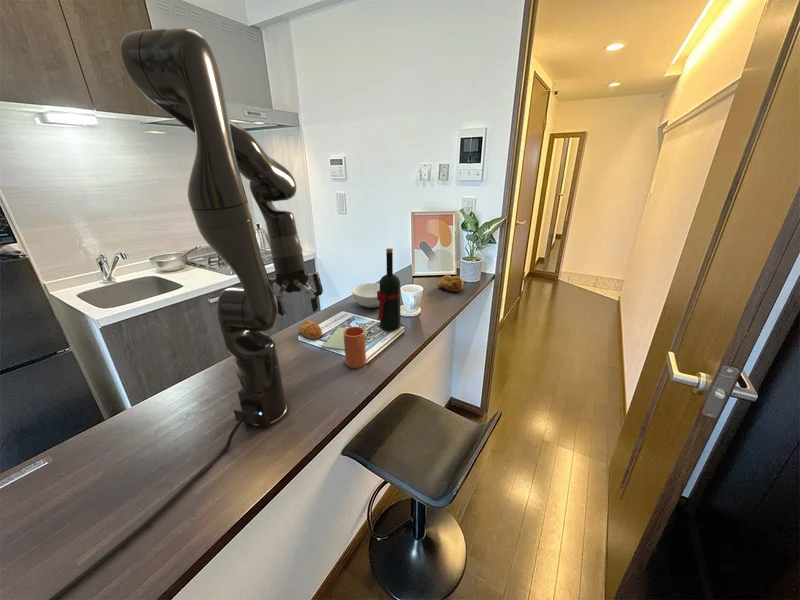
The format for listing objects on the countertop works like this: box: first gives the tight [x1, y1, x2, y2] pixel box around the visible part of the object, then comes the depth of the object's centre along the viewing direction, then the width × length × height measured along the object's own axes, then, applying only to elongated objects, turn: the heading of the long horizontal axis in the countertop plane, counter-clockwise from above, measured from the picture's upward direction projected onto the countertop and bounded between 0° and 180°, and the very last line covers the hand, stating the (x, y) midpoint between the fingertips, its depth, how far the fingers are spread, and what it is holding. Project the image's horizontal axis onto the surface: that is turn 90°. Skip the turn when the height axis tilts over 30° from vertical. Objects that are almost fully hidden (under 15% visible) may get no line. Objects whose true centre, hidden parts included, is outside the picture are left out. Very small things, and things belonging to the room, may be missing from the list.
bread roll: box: [437, 274, 464, 293], centre depth 158 cm, size 13×10×8 cm
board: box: [322, 326, 370, 351], centre depth 115 cm, size 14×12×1 cm
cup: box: [343, 326, 367, 369], centre depth 99 cm, size 6×6×11 cm
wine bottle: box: [377, 247, 401, 332], centre depth 117 cm, size 8×10×30 cm
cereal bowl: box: [352, 282, 380, 309], centre depth 141 cm, size 17×17×7 cm
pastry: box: [298, 320, 323, 340], centre depth 117 cm, size 9×7×4 cm
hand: (299, 312), depth 88 cm, fingers open, 8 cm apart
